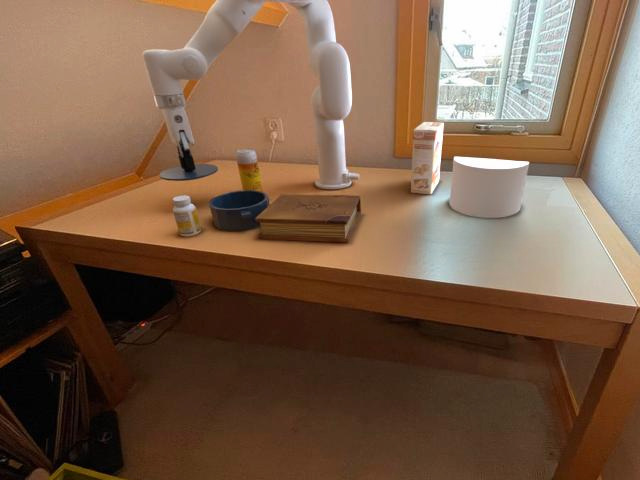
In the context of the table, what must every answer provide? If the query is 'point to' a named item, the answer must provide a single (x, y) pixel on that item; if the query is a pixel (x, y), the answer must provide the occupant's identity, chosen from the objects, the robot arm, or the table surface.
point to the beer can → (249, 169)
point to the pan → (238, 209)
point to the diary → (310, 218)
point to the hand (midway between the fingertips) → (188, 168)
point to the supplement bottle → (186, 216)
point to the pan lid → (188, 172)
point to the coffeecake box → (426, 157)
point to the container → (487, 186)
